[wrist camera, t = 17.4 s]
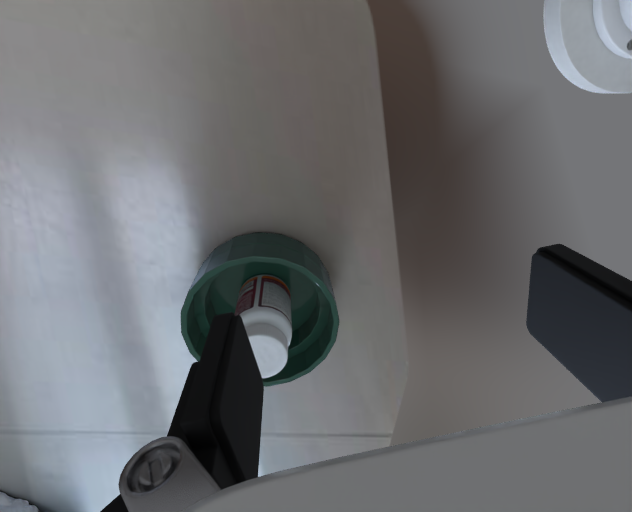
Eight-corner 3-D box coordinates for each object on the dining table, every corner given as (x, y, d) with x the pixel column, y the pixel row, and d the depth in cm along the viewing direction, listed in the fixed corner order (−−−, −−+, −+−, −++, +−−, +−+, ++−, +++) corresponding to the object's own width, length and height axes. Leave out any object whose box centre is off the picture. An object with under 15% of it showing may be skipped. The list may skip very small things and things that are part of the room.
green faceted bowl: (317, 218, 39) (323, 241, 33) (339, 332, 46) (348, 369, 40) (176, 247, 39) (156, 276, 33) (220, 357, 46) (209, 398, 40)
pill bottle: (243, 318, 43) (231, 387, 33) (235, 274, 41) (219, 334, 30) (293, 313, 44) (296, 379, 33) (288, 269, 41) (289, 327, 31)
